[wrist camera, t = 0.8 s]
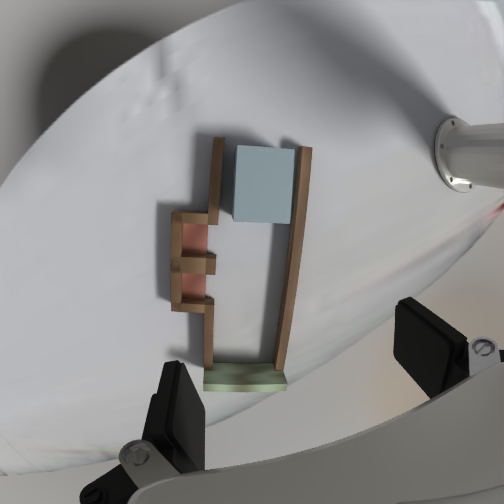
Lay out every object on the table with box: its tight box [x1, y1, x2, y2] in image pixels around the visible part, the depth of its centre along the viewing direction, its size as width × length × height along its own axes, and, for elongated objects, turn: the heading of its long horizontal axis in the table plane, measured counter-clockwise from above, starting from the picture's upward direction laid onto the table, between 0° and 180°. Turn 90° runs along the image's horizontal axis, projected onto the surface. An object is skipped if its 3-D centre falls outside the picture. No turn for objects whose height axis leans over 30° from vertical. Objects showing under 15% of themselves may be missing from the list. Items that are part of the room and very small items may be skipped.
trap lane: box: [171, 137, 312, 392], centre depth 34 cm, size 16×32×5 cm, turn 175°
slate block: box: [232, 145, 295, 224], centre depth 31 cm, size 6×8×5 cm
